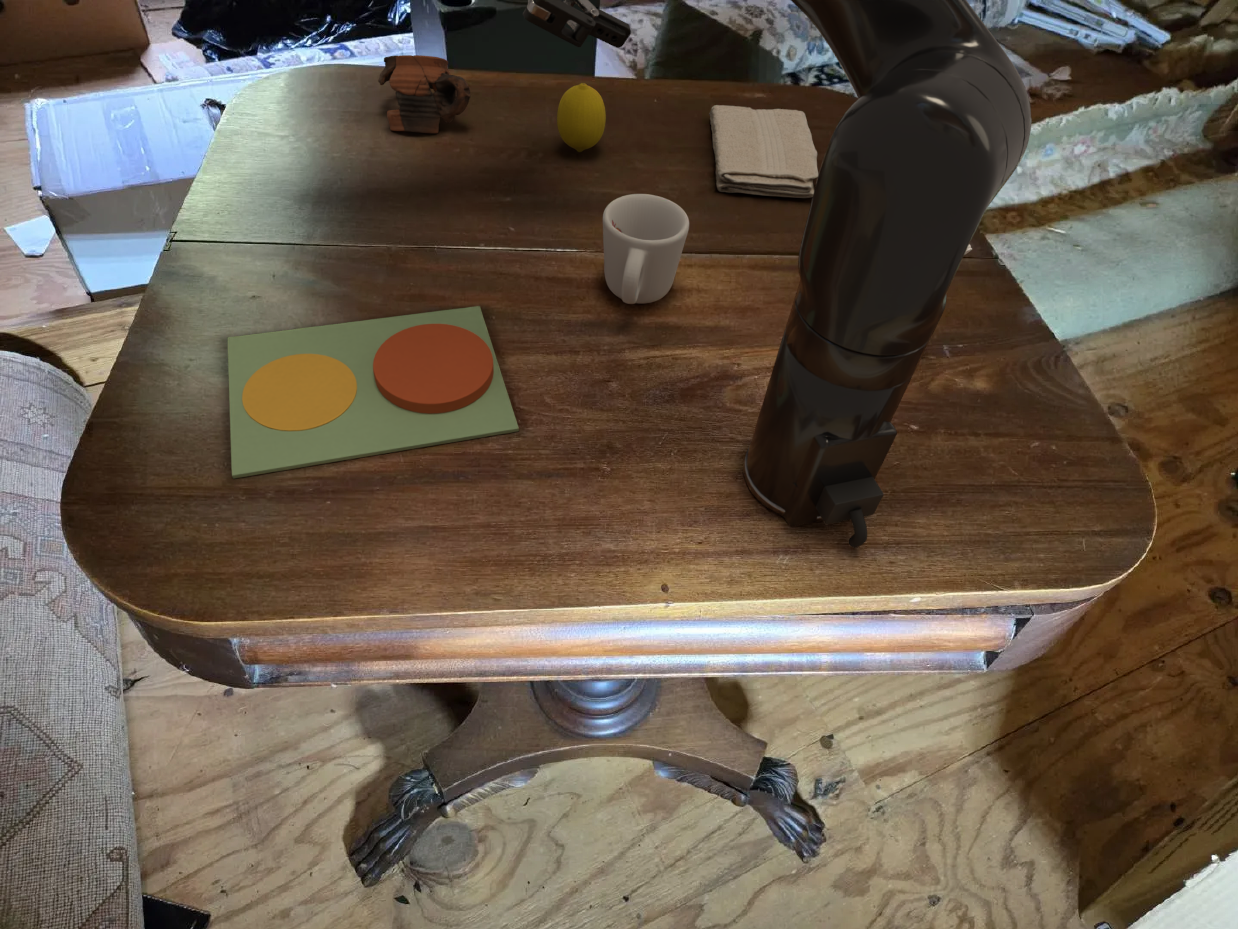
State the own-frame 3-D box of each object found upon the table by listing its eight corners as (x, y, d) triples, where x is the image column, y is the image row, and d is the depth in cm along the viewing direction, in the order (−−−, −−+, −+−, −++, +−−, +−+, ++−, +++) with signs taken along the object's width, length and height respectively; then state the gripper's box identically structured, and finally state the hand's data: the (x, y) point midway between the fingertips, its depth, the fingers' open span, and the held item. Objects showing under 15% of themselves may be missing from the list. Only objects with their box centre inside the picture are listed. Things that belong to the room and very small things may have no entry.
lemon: (602, 165, 98) (607, 97, 92) (554, 161, 98) (556, 93, 92) (603, 141, 102) (609, 74, 96) (557, 137, 101) (559, 69, 95)
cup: (665, 339, 79) (677, 268, 73) (582, 322, 80) (587, 250, 74) (683, 271, 86) (695, 201, 80) (606, 256, 87) (612, 186, 81)
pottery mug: (364, 131, 99) (358, 53, 96) (412, 135, 107) (408, 64, 105) (452, 131, 95) (449, 50, 92) (495, 136, 103) (493, 61, 101)
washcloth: (715, 196, 96) (720, 171, 93) (705, 118, 108) (709, 94, 105) (819, 204, 97) (826, 180, 94) (797, 126, 108) (803, 102, 106)
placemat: (518, 431, 70) (518, 418, 69) (232, 478, 64) (227, 465, 63) (479, 309, 80) (479, 295, 78) (228, 340, 74) (223, 326, 73)
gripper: (487, -61, 67) (653, 26, 76) (476, -166, 73) (631, -74, 82) (449, 16, 72) (608, 88, 81) (442, -88, 78) (591, -10, 87)
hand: (620, 7), depth 81 cm, fingers open, 8 cm apart
